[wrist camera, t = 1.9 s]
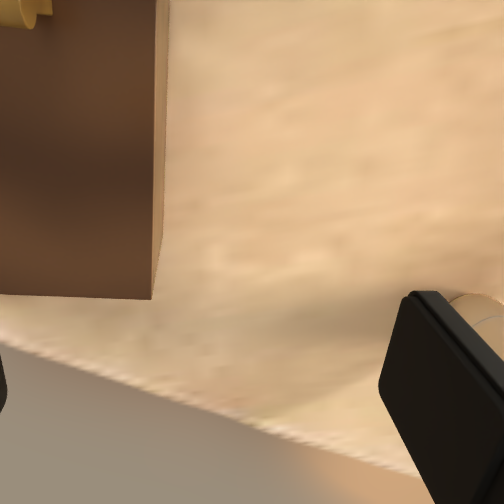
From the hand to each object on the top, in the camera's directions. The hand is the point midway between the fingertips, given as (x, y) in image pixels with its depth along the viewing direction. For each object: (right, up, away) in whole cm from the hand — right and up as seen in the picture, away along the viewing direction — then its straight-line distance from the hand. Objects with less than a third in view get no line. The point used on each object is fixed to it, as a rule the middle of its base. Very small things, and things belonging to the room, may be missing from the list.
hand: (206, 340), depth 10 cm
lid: (-11, +8, +13) cm, 18 cm away
